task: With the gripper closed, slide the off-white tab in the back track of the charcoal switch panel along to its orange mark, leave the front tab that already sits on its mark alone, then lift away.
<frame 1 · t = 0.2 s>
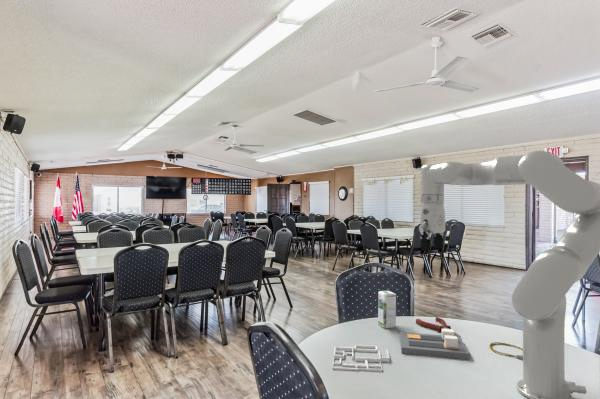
hand: (432, 249, 124), 37 cm above the table, tool pointing down, fingers open, 9 cm apart
extension cord: (512, 354, 127), on the table
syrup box: (386, 326, 154), on the table
floor plan model: (360, 356, 125), on the table
switch panel: (431, 347, 131), on the table
tab a: (447, 334, 133), point 4 cm above the table, slide at 0.0 cm
tab b: (451, 341, 127), point 4 cm above the table, slide at 0.0 cm
pliers: (435, 330, 151), on the table
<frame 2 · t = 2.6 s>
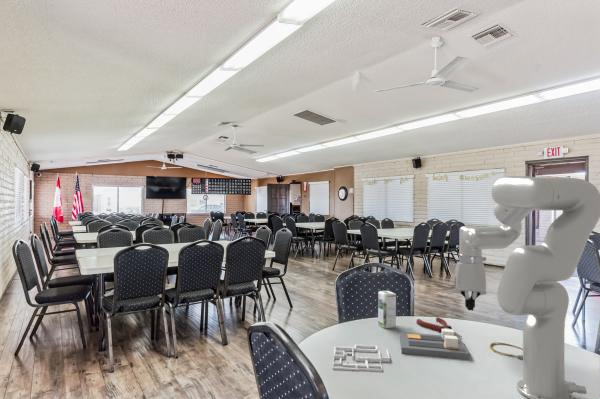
hand: (469, 309, 132), 14 cm above the table, tool pointing down, fingers closed
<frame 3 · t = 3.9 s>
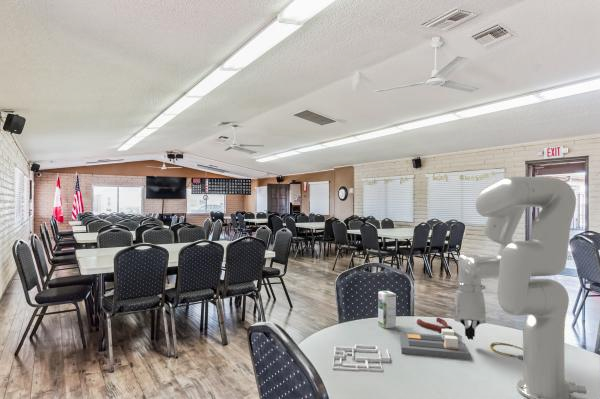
hand: (469, 338, 132), 3 cm above the table, tool pointing down, fingers closed
nothing on the table moved.
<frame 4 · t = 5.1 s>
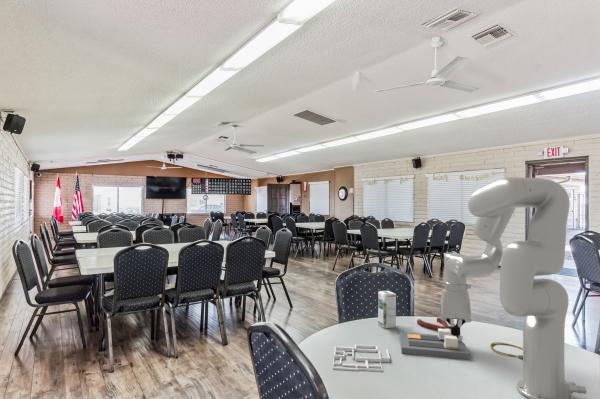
hand: (455, 336, 133), 3 cm above the table, tool pointing down, fingers closed
tab a: (444, 334, 134), point 4 cm above the table, slide at 1.2 cm, touching gripper
everything else where it was.
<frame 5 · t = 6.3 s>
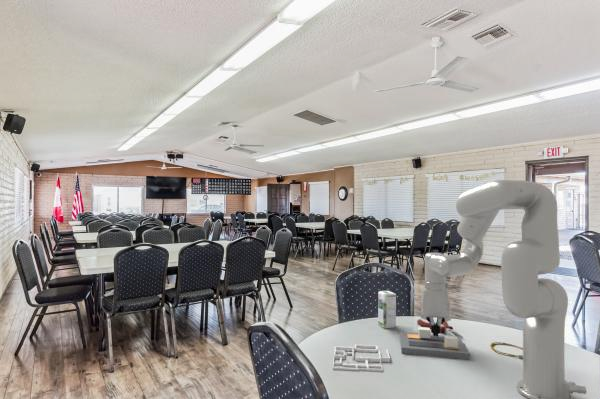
hand: (435, 335, 134), 3 cm above the table, tool pointing down, fingers closed
tab a: (424, 332, 135), point 4 cm above the table, slide at 8.2 cm, touching gripper
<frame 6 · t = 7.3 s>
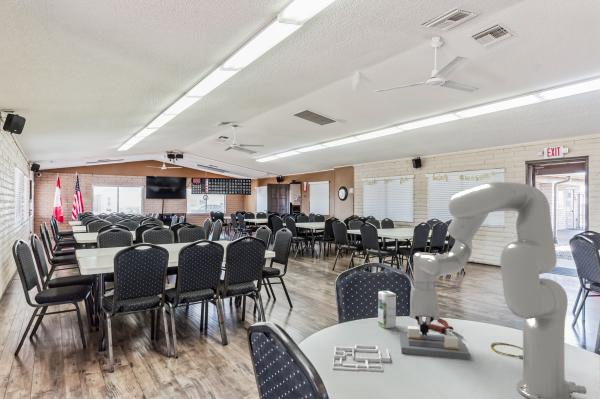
hand: (424, 334, 135), 3 cm above the table, tool pointing down, fingers closed
tab a: (413, 331, 136), point 4 cm above the table, slide at 12.2 cm, touching gripper
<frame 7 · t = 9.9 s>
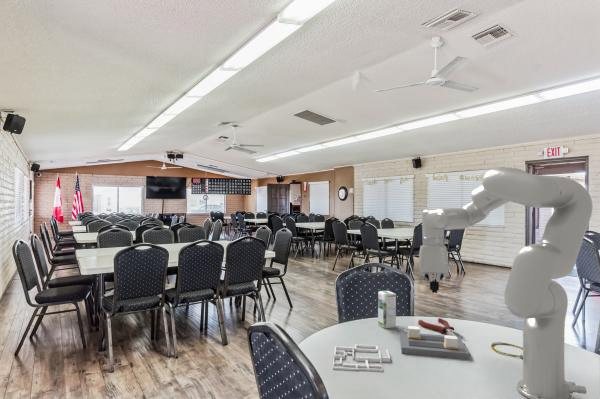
hand: (434, 292, 133), 20 cm above the table, tool pointing down, fingers closed
tab a: (413, 331, 136), point 4 cm above the table, slide at 12.1 cm
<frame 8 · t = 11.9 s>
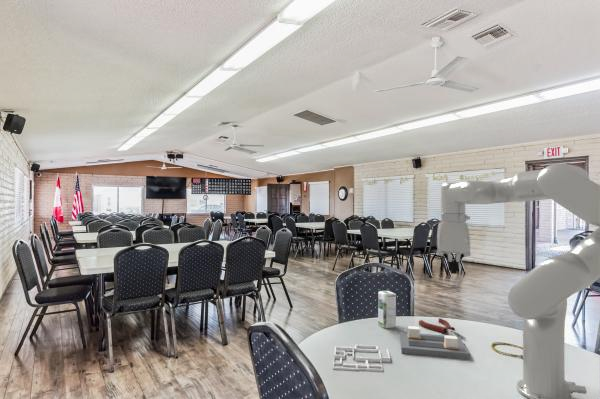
hand: (453, 273, 122), 29 cm above the table, tool pointing down, fingers closed
at the end: tab a slide at 12.1 cm; tab b slide at 0.0 cm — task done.
